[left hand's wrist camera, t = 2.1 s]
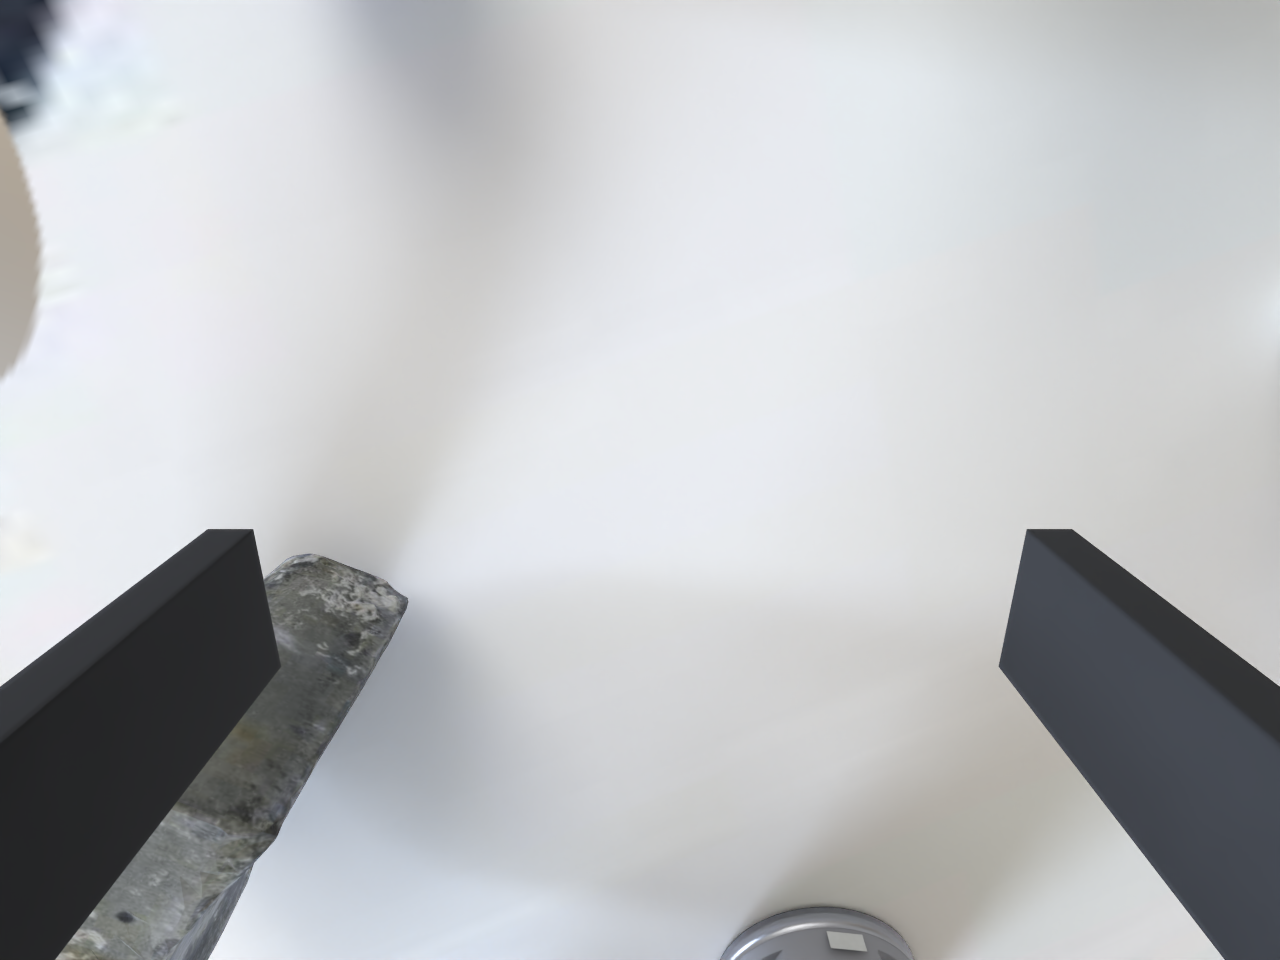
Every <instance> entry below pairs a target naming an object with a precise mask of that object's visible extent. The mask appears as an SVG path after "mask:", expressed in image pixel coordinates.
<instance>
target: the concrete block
mask: <svg viewBox="0 0 1280 960" xmlns="http://www.w3.org/2000/svg"><path fill="white" fill-rule="evenodd" d="M263 580H264V585H265V590H266V595H267V600H268V604H269V609H270V614H271V619H272V624H273V629H274V634H275V639H276V643H277V648H278V653H279V658H280V663H281V668H280V669H279V670H278V671H277V673H276V674H275V675H274V677H273V678H272V679H271V681H270V682H269V683H268V684H267V686H266V687H265V688H264V690H263V691H262V692H261V693H260V695H259V696H258V697H257V699H256V700H255V701H254V703H253V704H252V705H251V706H250V708H249V709H248V710H247V712H246V713H245V714H244V716H243V717H242V718H241V719H240V721H239V722H238V723H237V725H236V726H235V727H234V729H233V730H232V731H231V732H230V734H229V735H228V736H227V738H226V739H225V740H224V741H223V743H222V744H221V745H220V747H219V748H218V749H217V751H216V752H215V753H214V754H213V756H212V757H211V758H210V760H209V761H208V762H207V764H206V765H205V766H204V767H203V769H202V770H201V771H200V773H199V774H198V775H197V776H196V778H195V779H194V780H193V782H192V783H191V784H190V786H189V787H188V788H187V789H186V791H185V792H184V793H183V795H182V796H181V797H180V799H179V800H178V801H177V802H176V804H175V805H174V806H173V808H172V809H171V810H170V811H169V813H168V814H167V815H166V817H165V818H164V819H163V821H162V822H161V823H160V824H159V826H158V827H157V828H156V830H155V831H154V832H153V834H152V835H151V836H150V837H149V839H148V840H147V841H146V843H145V844H144V845H143V846H142V848H141V849H140V850H139V852H138V853H137V854H136V856H135V857H134V858H133V859H132V861H131V862H130V863H129V865H128V866H127V867H126V869H125V870H124V871H123V872H122V874H121V875H120V876H119V878H118V879H117V880H116V881H115V883H114V884H113V885H112V887H111V888H110V889H109V891H108V892H107V893H106V894H105V896H104V897H103V898H102V900H101V901H100V902H99V904H98V905H97V906H96V907H95V909H94V910H93V911H92V913H91V914H90V915H89V916H88V918H87V919H86V920H85V922H84V923H83V924H82V926H81V927H80V928H79V929H78V931H77V932H76V933H75V935H74V936H73V937H72V939H71V940H70V941H69V942H68V944H67V945H66V946H65V948H64V949H63V950H62V951H61V953H60V954H59V955H58V957H57V958H56V959H55V960H208V958H209V957H210V955H211V953H212V951H213V950H214V948H215V946H216V944H217V942H218V940H219V938H220V936H221V934H222V933H223V931H224V929H225V927H226V925H227V923H228V921H229V918H230V916H231V914H232V912H233V910H234V908H235V906H236V904H237V902H238V900H239V898H240V896H241V894H242V892H243V890H244V888H245V886H246V884H247V882H248V879H249V876H250V873H251V870H252V867H253V864H254V862H255V861H256V860H257V859H258V858H259V857H260V856H261V855H262V854H263V853H264V852H265V851H266V849H267V848H268V847H269V846H270V845H271V844H272V843H273V842H274V841H275V839H276V837H277V836H278V833H279V831H280V828H281V826H282V823H283V822H284V820H285V818H286V816H287V815H288V813H289V811H290V810H291V808H292V806H293V804H294V803H295V801H296V799H297V797H298V796H299V794H300V792H301V790H302V789H303V787H304V785H305V783H306V781H307V780H308V778H309V776H310V774H311V772H312V771H313V769H314V767H315V765H316V763H317V762H318V760H319V759H320V757H321V755H322V754H323V752H324V750H325V749H326V747H327V746H328V744H329V742H330V741H331V739H332V738H333V736H334V734H335V733H336V731H337V729H338V728H339V726H340V724H341V723H342V721H343V719H344V718H345V716H346V714H347V713H348V711H349V709H350V708H351V706H352V705H353V703H354V701H355V700H356V698H357V696H358V695H359V693H360V692H361V690H362V688H363V687H364V685H365V683H366V681H367V680H368V678H369V676H370V674H371V673H372V671H373V669H374V668H375V666H376V664H377V662H378V660H379V659H380V657H381V655H382V653H383V652H384V650H385V649H386V647H387V646H388V644H389V642H390V640H391V638H392V636H393V634H394V632H395V630H396V628H397V626H398V624H399V622H400V620H401V618H402V616H403V614H404V612H405V611H406V608H407V605H408V598H407V597H405V596H403V595H401V594H400V593H398V592H397V591H396V590H394V589H393V588H392V587H391V586H390V585H389V584H388V582H387V581H385V580H383V579H381V578H378V577H376V576H374V575H371V574H368V573H365V572H363V571H360V570H357V569H354V568H352V567H349V566H346V565H344V564H341V563H339V562H336V561H334V560H331V559H328V558H326V557H323V556H320V555H315V554H304V555H298V556H293V557H290V558H288V559H286V560H285V561H284V562H283V563H282V564H281V565H280V566H278V567H277V568H276V569H275V570H274V571H272V572H271V573H270V574H269V575H268V576H267V577H265V578H264V579H263Z"/></svg>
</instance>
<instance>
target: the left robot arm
mask: <svg viewBox="0 0 1280 960" xmlns="http://www.w3.org/2000/svg"><path fill="white" fill-rule="evenodd" d="M280 668H281V663H280V658H279V653H278V648H277V643H276V639H275V634H274V629H273V624H272V619H271V614H270V609H269V604H268V600H267V595H266V590H265V585H264V580H263V575H262V570H261V565H260V561H259V556H258V551H257V546H256V541H255V536H254V531H253V529H208V530H206V531H205V532H204V533H202V534H201V535H200V536H198V537H197V538H196V539H194V540H193V541H192V542H190V543H189V544H188V545H187V546H185V547H184V548H183V549H181V550H180V551H179V552H177V553H176V554H175V555H173V556H172V557H171V558H169V559H168V560H167V561H165V562H164V563H163V564H161V565H160V566H159V567H158V568H156V569H155V570H154V571H152V572H151V573H150V574H148V575H147V576H146V577H144V578H143V579H142V580H140V581H139V582H138V583H136V584H135V585H134V586H132V587H131V588H130V589H129V590H127V591H126V592H125V593H123V594H122V595H121V596H119V597H118V598H117V599H115V600H114V601H113V602H111V603H110V604H109V605H107V606H106V607H105V608H103V609H102V610H101V611H100V612H98V613H97V614H96V615H94V616H93V617H92V618H90V619H89V620H88V621H86V622H85V623H84V624H82V625H81V626H80V627H78V628H77V629H76V630H74V631H73V632H72V633H71V634H69V635H68V636H67V637H65V638H64V639H63V640H61V641H60V642H59V643H57V644H56V645H55V646H53V647H52V648H51V649H49V650H48V651H47V652H45V653H44V654H43V655H42V656H40V657H39V658H38V659H36V660H35V661H34V662H32V663H31V664H30V665H28V666H27V667H26V668H24V669H23V670H22V671H20V672H19V673H18V674H16V675H15V676H14V677H13V678H11V679H10V680H9V681H7V682H6V683H5V684H3V685H2V686H1V687H0V960H55V959H56V958H57V957H58V955H59V954H60V953H61V951H62V950H63V949H64V948H65V946H66V945H67V944H68V942H69V941H70V940H71V939H72V937H73V936H74V935H75V933H76V932H77V931H78V929H79V928H80V927H81V926H82V924H83V923H84V922H85V920H86V919H87V918H88V916H89V915H90V914H91V913H92V911H93V910H94V909H95V907H96V906H97V905H98V904H99V902H100V901H101V900H102V898H103V897H104V896H105V894H106V893H107V892H108V891H109V889H110V888H111V887H112V885H113V884H114V883H115V881H116V880H117V879H118V878H119V876H120V875H121V874H122V872H123V871H124V870H125V869H126V867H127V866H128V865H129V863H130V862H131V861H132V859H133V858H134V857H135V856H136V854H137V853H138V852H139V850H140V849H141V848H142V846H143V845H144V844H145V843H146V841H147V840H148V839H149V837H150V836H151V835H152V834H153V832H154V831H155V830H156V828H157V827H158V826H159V824H160V823H161V822H162V821H163V819H164V818H165V817H166V815H167V814H168V813H169V811H170V810H171V809H172V808H173V806H174V805H175V804H176V802H177V801H178V800H179V799H180V797H181V796H182V795H183V793H184V792H185V791H186V789H187V788H188V787H189V786H190V784H191V783H192V782H193V780H194V779H195V778H196V776H197V775H198V774H199V773H200V771H201V770H202V769H203V767H204V766H205V765H206V764H207V762H208V761H209V760H210V758H211V757H212V756H213V754H214V753H215V752H216V751H217V749H218V748H219V747H220V745H221V744H222V743H223V741H224V740H225V739H226V738H227V736H228V735H229V734H230V732H231V731H232V730H233V729H234V727H235V726H236V725H237V723H238V722H239V721H240V719H241V718H242V717H243V716H244V714H245V713H246V712H247V710H248V709H249V708H250V706H251V705H252V704H253V703H254V701H255V700H256V699H257V697H258V696H259V695H260V693H261V692H262V691H263V690H264V688H265V687H266V686H267V684H268V683H269V682H270V681H271V679H272V678H273V677H274V675H275V674H276V673H277V671H278V670H279V669H280ZM999 668H1000V669H1001V670H1002V671H1003V673H1004V674H1005V675H1006V677H1007V678H1008V679H1009V681H1010V682H1011V683H1012V684H1013V686H1014V687H1015V688H1016V690H1017V691H1018V692H1019V694H1020V695H1021V696H1022V697H1023V699H1024V700H1025V701H1026V703H1027V704H1028V705H1029V706H1030V708H1031V709H1032V710H1033V712H1034V713H1035V714H1036V716H1037V717H1038V718H1039V719H1040V721H1041V722H1042V723H1043V725H1044V726H1045V727H1046V729H1047V730H1048V731H1049V732H1050V734H1051V735H1052V736H1053V738H1054V739H1055V740H1056V741H1057V743H1058V744H1059V745H1060V747H1061V748H1062V749H1063V751H1064V752H1065V753H1066V754H1067V756H1068V757H1069V758H1070V760H1071V761H1072V762H1073V764H1074V765H1075V766H1076V767H1077V769H1078V770H1079V771H1080V773H1081V774H1082V775H1083V776H1084V778H1085V779H1086V780H1087V782H1088V783H1089V784H1090V786H1091V787H1092V788H1093V789H1094V791H1095V792H1096V793H1097V795H1098V796H1099V797H1100V799H1101V800H1102V801H1103V802H1104V804H1105V805H1106V806H1107V808H1108V809H1109V810H1110V811H1111V813H1112V814H1113V815H1114V817H1115V818H1116V819H1117V821H1118V822H1119V823H1120V824H1121V826H1122V827H1123V828H1124V830H1125V831H1126V832H1127V834H1128V835H1129V836H1130V837H1131V839H1132V840H1133V841H1134V843H1135V844H1136V845H1137V846H1138V848H1139V849H1140V850H1141V852H1142V853H1143V854H1144V856H1145V857H1146V858H1147V859H1148V861H1149V862H1150V863H1151V865H1152V866H1153V867H1154V869H1155V870H1156V871H1157V872H1158V874H1159V875H1160V876H1161V878H1162V879H1163V880H1164V881H1165V883H1166V884H1167V885H1168V887H1169V888H1170V889H1171V891H1172V892H1173V893H1174V894H1175V896H1176V897H1177V898H1178V900H1179V901H1180V902H1181V904H1182V905H1183V906H1184V907H1185V909H1186V910H1187V911H1188V913H1189V914H1190V915H1191V916H1192V918H1193V919H1194V920H1195V922H1196V923H1197V924H1198V926H1199V927H1200V928H1201V929H1202V931H1203V932H1204V933H1205V935H1206V936H1207V937H1208V939H1209V940H1210V941H1211V942H1212V944H1213V945H1214V946H1215V948H1216V949H1217V950H1218V951H1219V953H1220V954H1221V955H1222V957H1223V958H1224V959H1225V960H1280V686H1278V685H1277V684H1275V683H1274V682H1273V681H1271V680H1270V679H1269V678H1267V677H1266V676H1265V675H1264V674H1262V673H1261V672H1260V671H1258V670H1257V669H1256V668H1254V667H1253V666H1252V665H1250V664H1249V663H1248V662H1246V661H1245V660H1244V659H1242V658H1241V657H1240V656H1238V655H1237V654H1236V653H1235V652H1233V651H1232V650H1231V649H1229V648H1228V647H1227V646H1225V645H1224V644H1223V643H1221V642H1220V641H1219V640H1217V639H1216V638H1215V637H1213V636H1212V635H1211V634H1209V633H1208V632H1207V631H1206V630H1204V629H1203V628H1202V627H1200V626H1199V625H1198V624H1196V623H1195V622H1194V621H1192V620H1191V619H1190V618H1188V617H1187V616H1186V615H1184V614H1183V613H1182V612H1180V611H1179V610H1178V609H1177V608H1175V607H1174V606H1173V605H1171V604H1170V603H1169V602H1167V601H1166V600H1165V599H1163V598H1162V597H1161V596H1159V595H1158V594H1157V593H1155V592H1154V591H1153V590H1151V589H1150V588H1149V587H1148V586H1146V585H1145V584H1144V583H1142V582H1141V581H1140V580H1138V579H1137V578H1136V577H1134V576H1133V575H1132V574H1130V573H1129V572H1128V571H1126V570H1125V569H1124V568H1122V567H1121V566H1120V565H1119V564H1117V563H1116V562H1115V561H1113V560H1112V559H1111V558H1109V557H1108V556H1107V555H1105V554H1104V553H1103V552H1101V551H1100V550H1099V549H1097V548H1096V547H1095V546H1093V545H1092V544H1091V543H1090V542H1088V541H1087V540H1086V539H1084V538H1083V537H1082V536H1080V535H1079V534H1078V533H1076V532H1075V531H1074V530H1072V529H1027V531H1026V536H1025V541H1024V546H1023V551H1022V556H1021V561H1020V565H1019V570H1018V575H1017V580H1016V585H1015V590H1014V595H1013V600H1012V604H1011V609H1010V614H1009V619H1008V624H1007V629H1006V634H1005V639H1004V643H1003V648H1002V653H1001V658H1000V663H999ZM720 960H914V958H913V956H912V953H911V951H910V949H909V947H908V945H907V944H906V942H905V941H904V939H903V938H902V937H901V936H900V935H899V934H898V933H897V932H896V931H895V930H894V929H893V928H891V927H890V926H888V925H887V924H885V923H884V922H882V921H880V920H878V919H876V918H874V917H872V916H869V915H867V914H864V913H861V912H857V911H853V910H848V909H842V908H832V907H814V908H804V909H798V910H792V911H788V912H784V913H781V914H778V915H775V916H772V917H770V918H767V919H765V920H763V921H761V922H759V923H757V924H755V925H753V926H752V927H750V928H749V929H747V930H746V931H744V932H743V933H742V934H740V935H739V936H738V937H737V938H736V939H735V940H734V941H733V942H732V943H731V944H730V945H729V946H728V948H727V949H726V951H725V952H724V953H723V955H722V957H721V959H720Z"/></svg>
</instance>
